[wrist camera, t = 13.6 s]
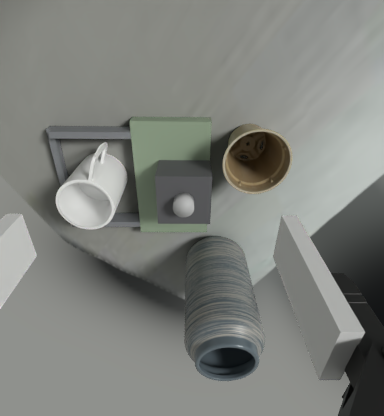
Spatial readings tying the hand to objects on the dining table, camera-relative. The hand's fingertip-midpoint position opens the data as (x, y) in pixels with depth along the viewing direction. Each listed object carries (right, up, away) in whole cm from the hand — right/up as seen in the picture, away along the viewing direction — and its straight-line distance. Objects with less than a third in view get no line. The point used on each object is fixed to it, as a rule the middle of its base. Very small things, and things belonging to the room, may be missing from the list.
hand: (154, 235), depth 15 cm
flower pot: (+11, +12, +31) cm, 35 cm away
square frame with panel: (-8, +7, +34) cm, 36 cm away
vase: (+7, -8, +43) cm, 44 cm away
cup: (-13, +9, +33) cm, 37 cm away
